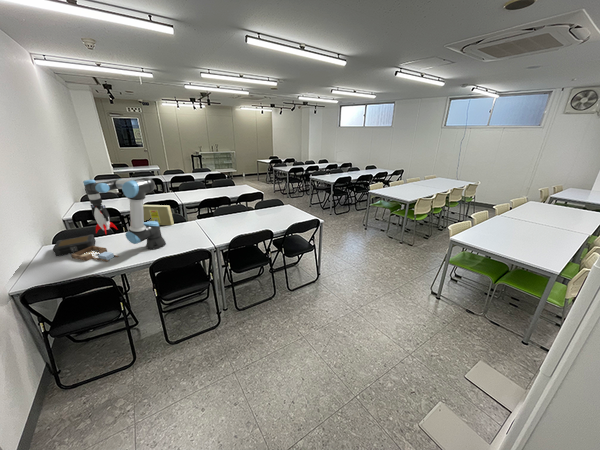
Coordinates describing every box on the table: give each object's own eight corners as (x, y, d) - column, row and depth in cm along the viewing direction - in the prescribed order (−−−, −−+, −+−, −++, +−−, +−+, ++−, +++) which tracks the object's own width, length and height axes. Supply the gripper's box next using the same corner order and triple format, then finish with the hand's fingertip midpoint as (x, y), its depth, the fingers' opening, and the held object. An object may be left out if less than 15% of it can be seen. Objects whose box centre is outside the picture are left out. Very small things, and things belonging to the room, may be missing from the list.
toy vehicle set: (174, 223, 261) (170, 205, 253) (171, 225, 257) (167, 206, 249) (145, 223, 264) (139, 204, 256) (142, 224, 260) (136, 205, 252)
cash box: (55, 257, 193) (51, 249, 190) (60, 248, 208) (56, 240, 206) (94, 249, 207) (91, 241, 204) (96, 241, 222) (93, 233, 219)
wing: (114, 256, 193) (113, 253, 192) (107, 260, 188) (105, 256, 187) (106, 255, 196) (105, 251, 194) (99, 258, 190) (97, 255, 189)
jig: (122, 254, 197) (121, 250, 196) (102, 264, 183) (101, 260, 182) (93, 249, 206) (92, 245, 205) (72, 258, 192) (70, 254, 191)
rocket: (106, 234, 199) (96, 206, 189) (95, 234, 201) (85, 206, 191) (118, 229, 209) (109, 202, 199) (108, 229, 211) (98, 202, 201)
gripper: (109, 198, 194) (117, 223, 202) (90, 196, 200) (99, 221, 208) (99, 200, 187) (109, 226, 196) (81, 199, 193) (90, 224, 202)
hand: (104, 224), depth 202 cm, fingers closed on rocket, 9 cm apart
